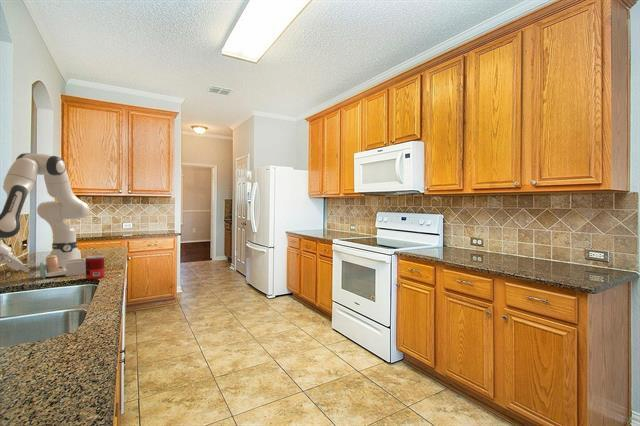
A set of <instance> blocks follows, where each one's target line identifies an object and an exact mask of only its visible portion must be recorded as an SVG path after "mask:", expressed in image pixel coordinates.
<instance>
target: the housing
mask: <svg viewBox="0 0 640 426" xmlns="http://www.w3.org/2000/svg"><path fill="white" fill-rule="evenodd" d="M85 260H86V257H85V258H84V257H83V258H82V257H81V259H72V260H63V261H62V267H61V269H66V274H65V275H64V277H67V276H68V277H74V275H75V276H82V274H83V275H86V261H85Z"/></svg>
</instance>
